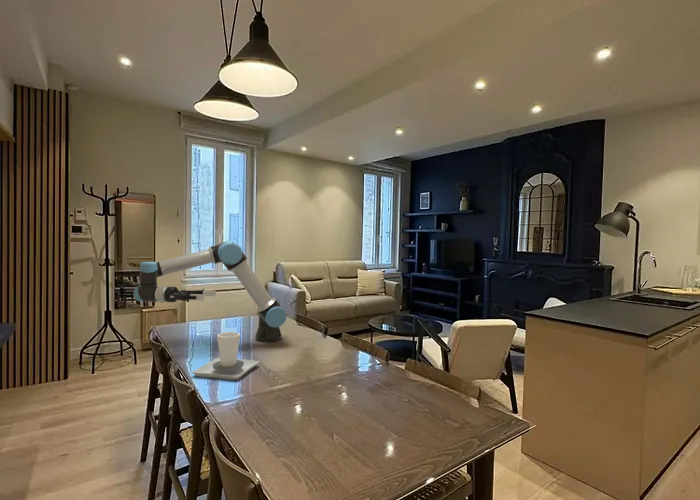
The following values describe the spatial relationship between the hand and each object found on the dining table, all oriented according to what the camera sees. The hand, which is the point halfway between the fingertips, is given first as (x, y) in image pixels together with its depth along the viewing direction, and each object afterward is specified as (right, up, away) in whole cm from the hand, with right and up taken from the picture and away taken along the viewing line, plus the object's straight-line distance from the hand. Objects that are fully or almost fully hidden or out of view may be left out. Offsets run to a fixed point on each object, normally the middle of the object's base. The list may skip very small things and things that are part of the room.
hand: (210, 295), depth 185 cm
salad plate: (+14, -32, -17) cm, 39 cm away
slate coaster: (+14, -29, -17) cm, 37 cm away
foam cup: (+14, -28, -17) cm, 36 cm away
